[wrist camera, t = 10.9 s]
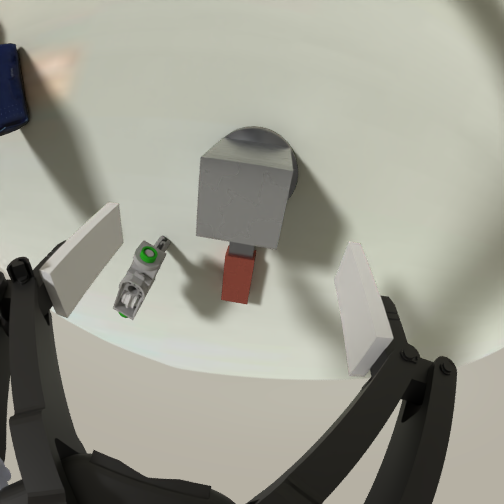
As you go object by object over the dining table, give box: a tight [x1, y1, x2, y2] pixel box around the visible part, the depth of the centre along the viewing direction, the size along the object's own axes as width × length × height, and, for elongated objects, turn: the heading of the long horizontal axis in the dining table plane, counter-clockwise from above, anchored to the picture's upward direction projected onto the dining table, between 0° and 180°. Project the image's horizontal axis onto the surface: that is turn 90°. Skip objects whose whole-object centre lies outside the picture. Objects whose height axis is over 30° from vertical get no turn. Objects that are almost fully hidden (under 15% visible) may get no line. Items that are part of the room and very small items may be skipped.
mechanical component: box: [113, 236, 170, 320], centre depth 31 cm, size 3×10×10 cm, turn 148°
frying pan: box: [221, 126, 298, 304], centre depth 29 cm, size 22×9×8 cm, turn 172°
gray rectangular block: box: [196, 138, 293, 250], centre depth 24 cm, size 6×6×8 cm
